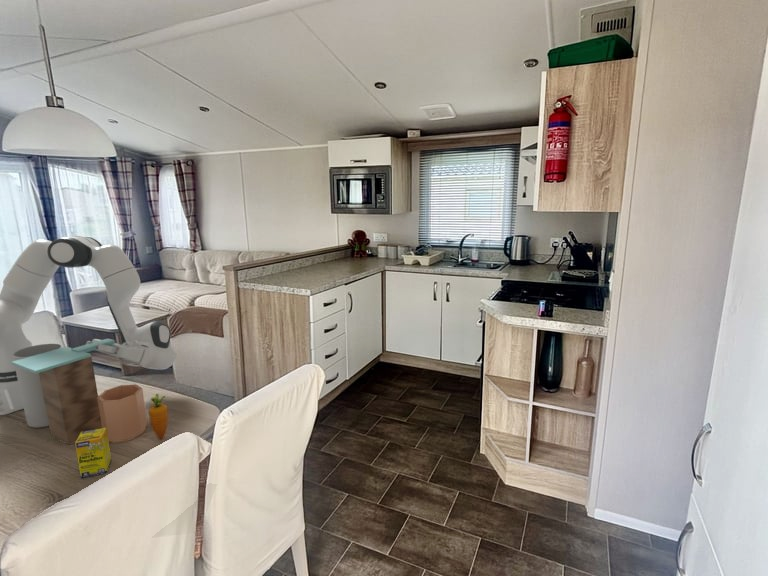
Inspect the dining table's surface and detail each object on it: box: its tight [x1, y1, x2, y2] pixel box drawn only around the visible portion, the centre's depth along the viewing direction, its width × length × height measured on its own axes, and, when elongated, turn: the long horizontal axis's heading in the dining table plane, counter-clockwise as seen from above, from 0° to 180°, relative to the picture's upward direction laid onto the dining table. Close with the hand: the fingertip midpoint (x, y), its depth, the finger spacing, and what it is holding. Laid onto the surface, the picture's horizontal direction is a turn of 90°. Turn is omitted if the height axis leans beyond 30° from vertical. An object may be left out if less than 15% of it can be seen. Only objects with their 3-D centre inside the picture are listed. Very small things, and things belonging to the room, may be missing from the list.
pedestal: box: [39, 356, 102, 446], centre depth 124 cm, size 10×10×26 cm
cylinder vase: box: [13, 342, 64, 429], centre depth 132 cm, size 12×12×25 cm
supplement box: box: [74, 427, 112, 479], centre depth 108 cm, size 6×6×11 cm
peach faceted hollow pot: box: [97, 383, 148, 444], centre depth 125 cm, size 11×11×14 cm
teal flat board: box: [11, 338, 116, 373], centre depth 123 cm, size 24×14×1 cm, turn 153°
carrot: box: [148, 393, 169, 440], centre depth 122 cm, size 5×5×15 cm
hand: (92, 345), depth 128 cm, fingers open, 5 cm apart
